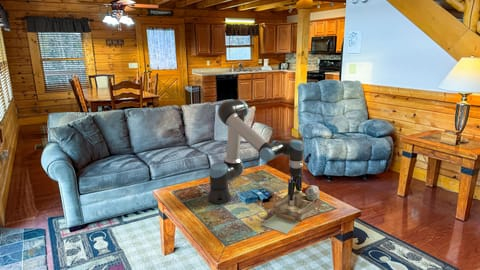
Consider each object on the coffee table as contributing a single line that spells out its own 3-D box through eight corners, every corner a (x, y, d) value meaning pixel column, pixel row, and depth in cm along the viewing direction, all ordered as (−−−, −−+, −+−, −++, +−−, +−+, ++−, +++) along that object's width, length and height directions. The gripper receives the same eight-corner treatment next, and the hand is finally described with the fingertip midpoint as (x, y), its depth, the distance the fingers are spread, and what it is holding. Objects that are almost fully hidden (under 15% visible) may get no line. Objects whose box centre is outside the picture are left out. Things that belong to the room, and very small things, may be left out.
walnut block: (288, 204, 194) (288, 194, 192) (292, 200, 198) (293, 191, 197) (297, 206, 190) (297, 197, 189) (301, 202, 195) (301, 193, 193)
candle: (317, 203, 204) (297, 199, 215) (326, 197, 212) (306, 194, 223) (316, 190, 203) (296, 186, 213) (325, 184, 211) (305, 181, 221)
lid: (261, 226, 181) (261, 220, 180) (275, 214, 193) (275, 209, 192) (286, 235, 172) (286, 229, 171) (300, 222, 184) (300, 217, 183)
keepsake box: (274, 212, 194) (274, 203, 193) (287, 202, 207) (288, 193, 206) (301, 221, 184) (301, 211, 182) (314, 210, 197) (314, 200, 195)
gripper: (293, 172, 179) (292, 210, 185) (308, 163, 194) (307, 198, 199) (281, 169, 183) (281, 207, 189) (297, 160, 198) (296, 195, 204)
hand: (294, 202), depth 194 cm, fingers closed on walnut block, 6 cm apart
